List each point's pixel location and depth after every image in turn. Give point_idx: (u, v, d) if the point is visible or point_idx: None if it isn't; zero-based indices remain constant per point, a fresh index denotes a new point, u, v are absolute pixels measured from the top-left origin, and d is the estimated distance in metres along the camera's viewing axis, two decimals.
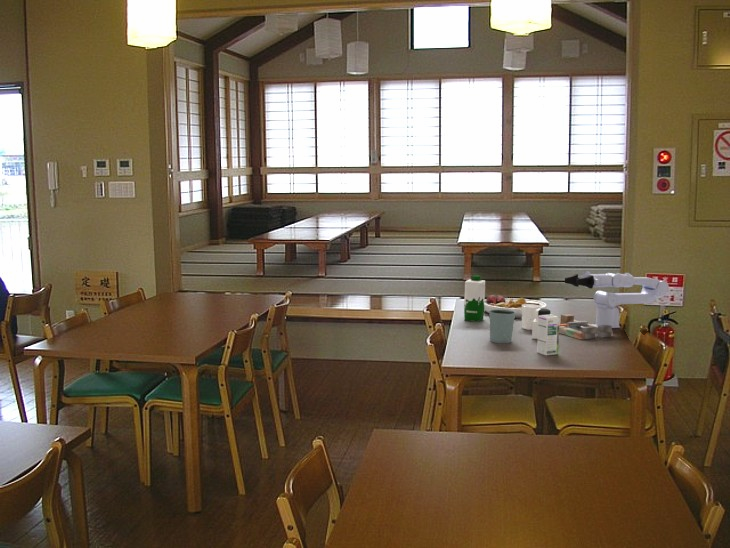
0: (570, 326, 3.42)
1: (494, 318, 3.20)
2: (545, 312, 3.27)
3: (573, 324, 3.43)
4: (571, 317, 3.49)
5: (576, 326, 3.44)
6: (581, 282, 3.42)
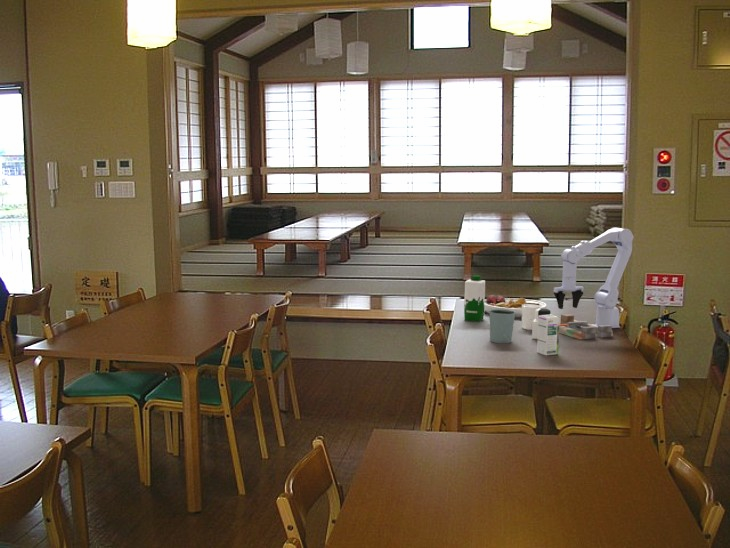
0: (570, 326, 3.42)
1: (494, 318, 3.20)
2: (545, 312, 3.27)
3: (573, 324, 3.43)
4: (571, 317, 3.49)
5: (576, 326, 3.44)
6: (560, 303, 3.48)
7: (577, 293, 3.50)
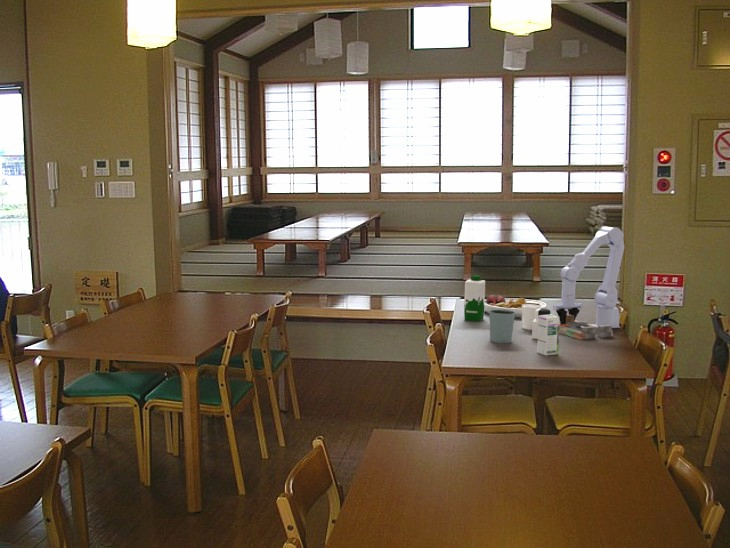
0: (570, 326, 3.42)
1: (494, 318, 3.20)
2: (545, 312, 3.27)
3: (573, 324, 3.43)
4: (571, 317, 3.49)
5: (576, 326, 3.44)
6: (562, 320, 3.50)
7: (573, 311, 3.50)
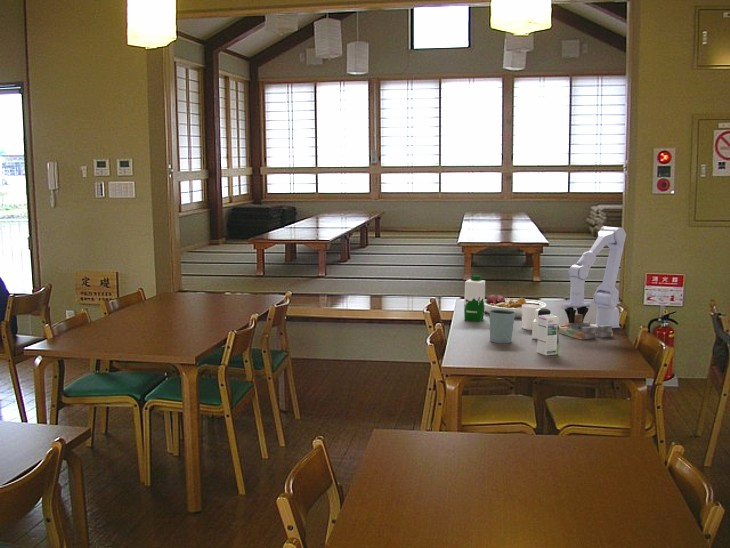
0: (572, 327, 3.41)
1: (494, 318, 3.20)
2: (545, 312, 3.27)
3: (575, 325, 3.42)
4: (579, 316, 3.44)
5: (578, 327, 3.42)
6: (570, 319, 3.44)
7: (582, 309, 3.45)
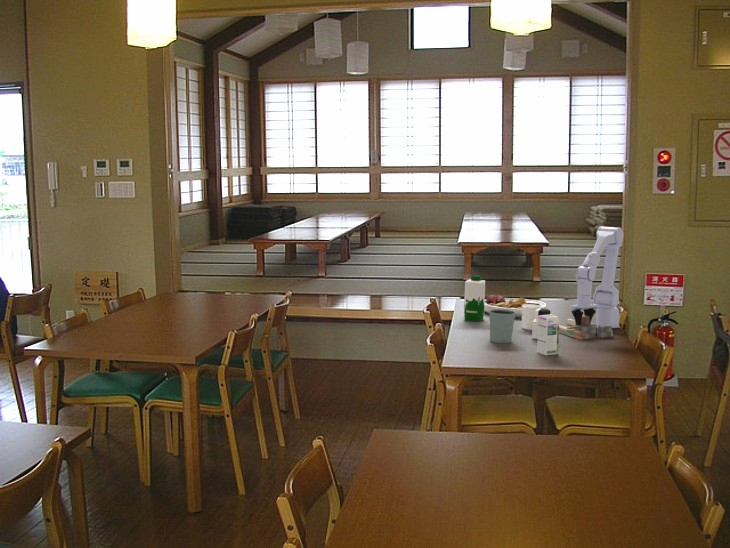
0: (579, 329, 3.37)
1: (494, 318, 3.20)
2: (545, 312, 3.27)
3: None
4: (586, 318, 3.40)
5: None
6: (577, 321, 3.40)
7: (589, 311, 3.40)
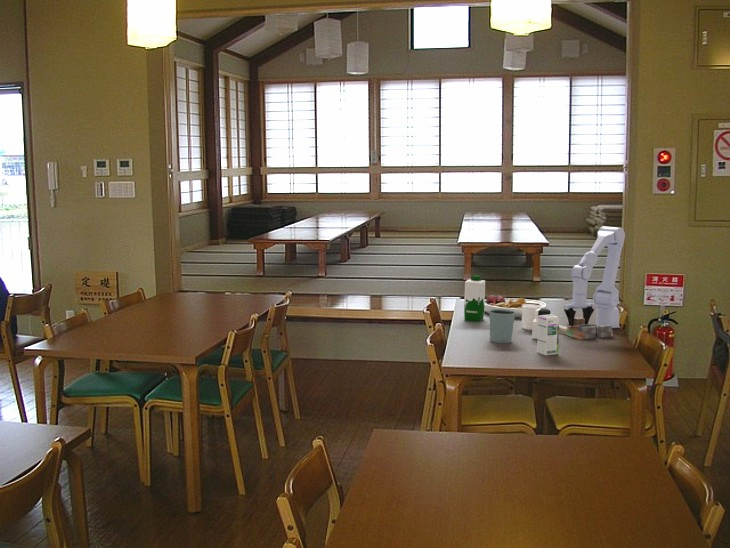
0: (579, 329, 3.37)
1: (494, 318, 3.20)
2: (545, 312, 3.27)
3: None
4: (582, 320, 3.43)
5: None
6: (570, 320, 3.42)
7: (588, 310, 3.44)
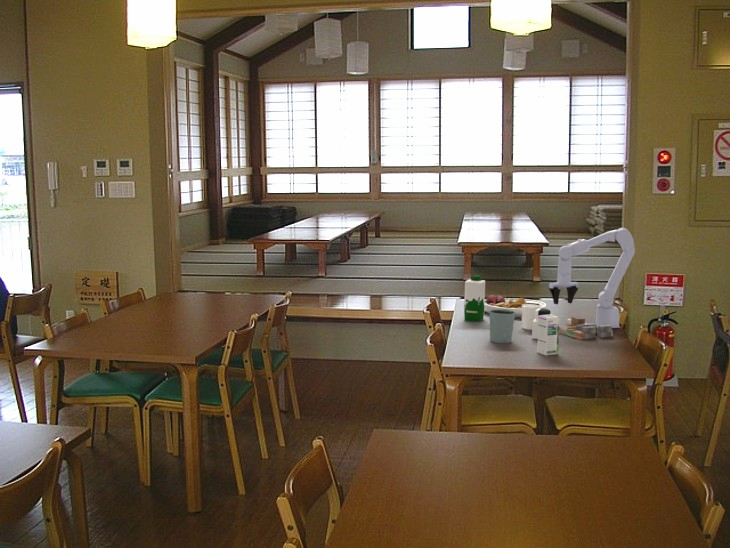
0: (579, 329, 3.37)
1: (494, 318, 3.20)
2: (545, 312, 3.27)
3: None
4: (582, 320, 3.43)
5: None
6: (555, 299, 3.57)
7: (572, 289, 3.59)
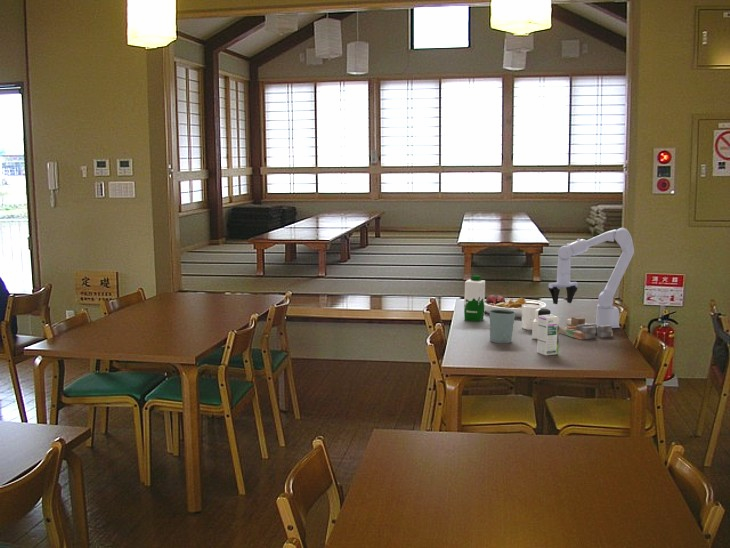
0: (579, 329, 3.37)
1: (494, 318, 3.20)
2: (545, 312, 3.27)
3: None
4: (582, 320, 3.43)
5: None
6: (554, 299, 3.58)
7: (571, 289, 3.59)
